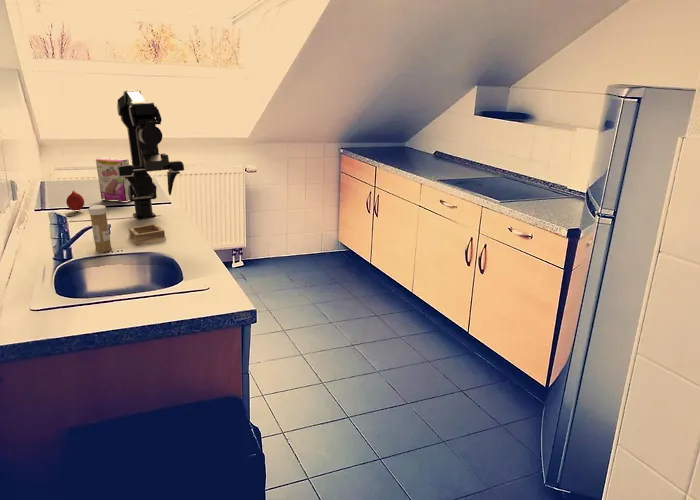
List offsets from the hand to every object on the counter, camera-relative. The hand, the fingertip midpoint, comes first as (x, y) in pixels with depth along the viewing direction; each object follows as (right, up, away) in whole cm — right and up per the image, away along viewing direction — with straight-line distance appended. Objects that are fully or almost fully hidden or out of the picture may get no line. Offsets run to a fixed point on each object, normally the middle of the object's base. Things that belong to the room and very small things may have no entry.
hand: (154, 196), depth 175 cm
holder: (-4, -13, +5) cm, 14 cm away
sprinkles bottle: (-13, -17, -5) cm, 22 cm away
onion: (-39, -3, +32) cm, 50 cm away
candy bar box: (-30, +3, +46) cm, 55 cm away
